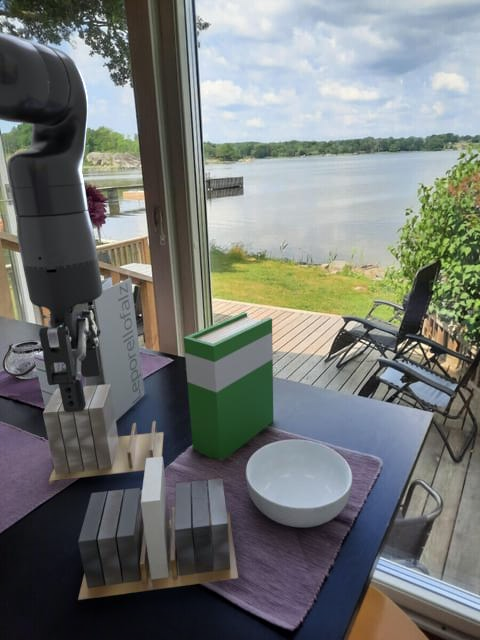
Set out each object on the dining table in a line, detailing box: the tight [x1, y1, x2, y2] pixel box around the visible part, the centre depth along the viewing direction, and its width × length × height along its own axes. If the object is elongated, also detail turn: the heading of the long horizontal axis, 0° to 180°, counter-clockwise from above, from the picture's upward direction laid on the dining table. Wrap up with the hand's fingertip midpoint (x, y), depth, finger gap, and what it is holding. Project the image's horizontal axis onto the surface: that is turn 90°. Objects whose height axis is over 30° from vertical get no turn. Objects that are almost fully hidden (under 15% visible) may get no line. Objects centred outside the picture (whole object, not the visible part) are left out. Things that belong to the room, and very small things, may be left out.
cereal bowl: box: [245, 439, 353, 529], centre depth 72 cm, size 17×17×7 cm
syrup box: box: [33, 351, 66, 409], centre depth 104 cm, size 6×6×14 cm
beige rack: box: [42, 384, 165, 486], centre depth 84 cm, size 20×12×14 cm, turn 97°
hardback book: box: [183, 311, 274, 460], centre depth 89 cm, size 18×7×24 cm, turn 141°
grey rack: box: [77, 478, 239, 601], centre depth 63 cm, size 21×12×9 cm, turn 97°
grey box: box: [83, 276, 146, 422], centre depth 100 cm, size 14×6×30 cm, turn 161°
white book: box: [141, 456, 171, 579], centre depth 62 cm, size 2×9×13 cm, turn 7°
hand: (84, 391), depth 52 cm, fingers open, 8 cm apart
